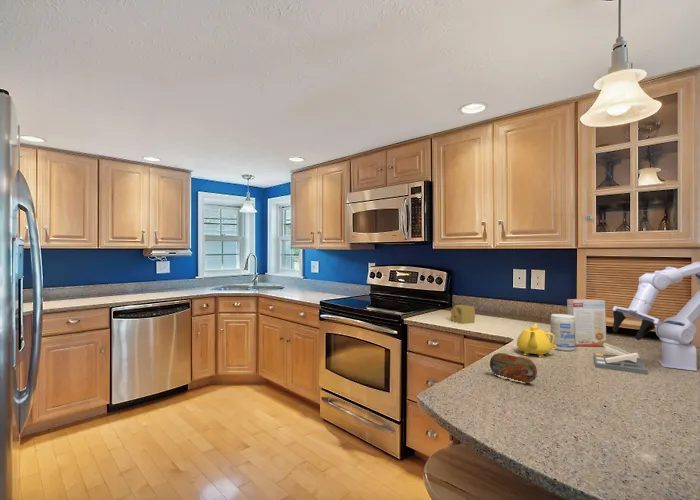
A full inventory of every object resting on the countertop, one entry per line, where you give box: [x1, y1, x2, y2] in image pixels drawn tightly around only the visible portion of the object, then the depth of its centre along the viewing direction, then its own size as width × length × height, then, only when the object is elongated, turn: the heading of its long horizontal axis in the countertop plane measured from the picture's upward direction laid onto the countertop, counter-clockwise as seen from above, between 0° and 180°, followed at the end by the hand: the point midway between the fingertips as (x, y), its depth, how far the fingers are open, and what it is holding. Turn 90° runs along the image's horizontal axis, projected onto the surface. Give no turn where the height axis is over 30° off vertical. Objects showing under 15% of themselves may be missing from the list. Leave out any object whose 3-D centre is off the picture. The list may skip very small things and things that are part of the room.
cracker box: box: [566, 298, 607, 348], centre depth 166 cm, size 14×6×21 cm, turn 84°
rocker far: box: [602, 342, 633, 354], centre depth 141 cm, size 10×3×1 cm, turn 58°
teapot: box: [516, 322, 557, 358], centre depth 151 cm, size 20×15×12 cm
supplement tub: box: [550, 313, 576, 352], centre depth 160 cm, size 10×10×15 cm
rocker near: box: [605, 352, 641, 363], centre depth 131 cm, size 10×3×1 cm, turn 58°
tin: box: [489, 352, 538, 384], centre depth 121 cm, size 15×3×8 cm, turn 40°
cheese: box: [449, 304, 476, 325], centre depth 222 cm, size 10×11×10 cm
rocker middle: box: [603, 346, 637, 363], centre depth 136 cm, size 10×3×1 cm, turn 58°
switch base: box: [593, 352, 649, 375], centre depth 136 cm, size 15×16×3 cm
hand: (625, 335), depth 133 cm, fingers open, 7 cm apart
